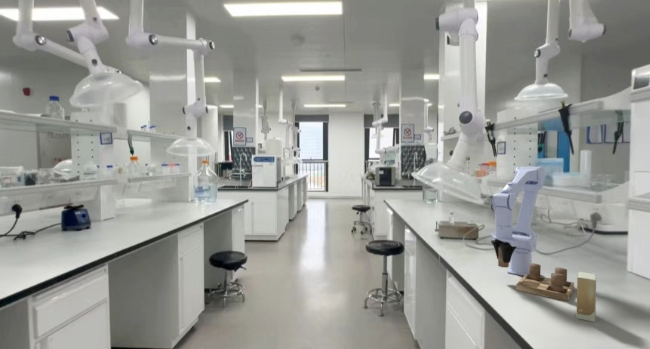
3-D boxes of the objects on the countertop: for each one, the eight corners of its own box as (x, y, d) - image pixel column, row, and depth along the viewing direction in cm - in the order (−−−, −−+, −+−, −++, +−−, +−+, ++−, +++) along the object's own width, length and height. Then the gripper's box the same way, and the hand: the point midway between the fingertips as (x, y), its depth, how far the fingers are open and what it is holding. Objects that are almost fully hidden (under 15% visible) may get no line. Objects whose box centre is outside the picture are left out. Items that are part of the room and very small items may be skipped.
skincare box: (577, 311, 104) (578, 270, 103) (595, 315, 101) (596, 273, 101) (576, 318, 99) (576, 276, 98) (595, 323, 96) (596, 279, 96)
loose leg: (499, 264, 133) (499, 246, 132) (509, 265, 130) (509, 247, 130) (497, 266, 130) (497, 247, 130) (507, 268, 128) (507, 249, 127)
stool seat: (526, 279, 132) (526, 260, 132) (574, 288, 122) (574, 268, 122) (516, 290, 121) (516, 270, 121) (568, 301, 111) (568, 279, 111)
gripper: (483, 222, 137) (483, 255, 137) (504, 229, 122) (504, 267, 123) (500, 221, 137) (500, 255, 137) (523, 228, 122) (523, 266, 123)
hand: (503, 260), depth 130 cm, fingers closed on loose leg, 3 cm apart
